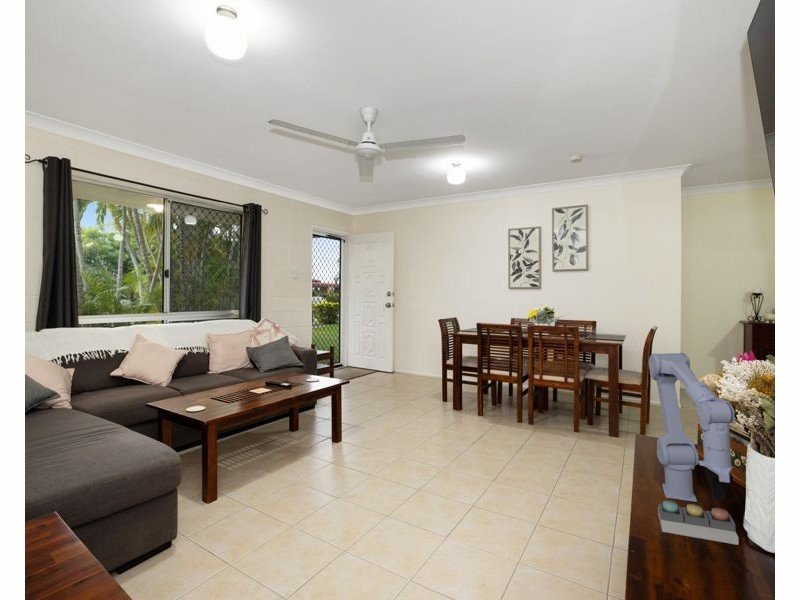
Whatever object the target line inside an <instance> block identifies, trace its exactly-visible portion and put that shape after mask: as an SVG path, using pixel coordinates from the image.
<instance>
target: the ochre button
mask: <svg viewBox="0 0 800 600" xmlns="http://www.w3.org/2000/svg"><path fill="white" fill-rule="evenodd" d="M686 508H687V514H688V515H690V516H694V517H700V518H701V517H702V516H703V514H702V510H703V507H702V506H700V505H697V504H693V503H689V504H686Z"/></svg>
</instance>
